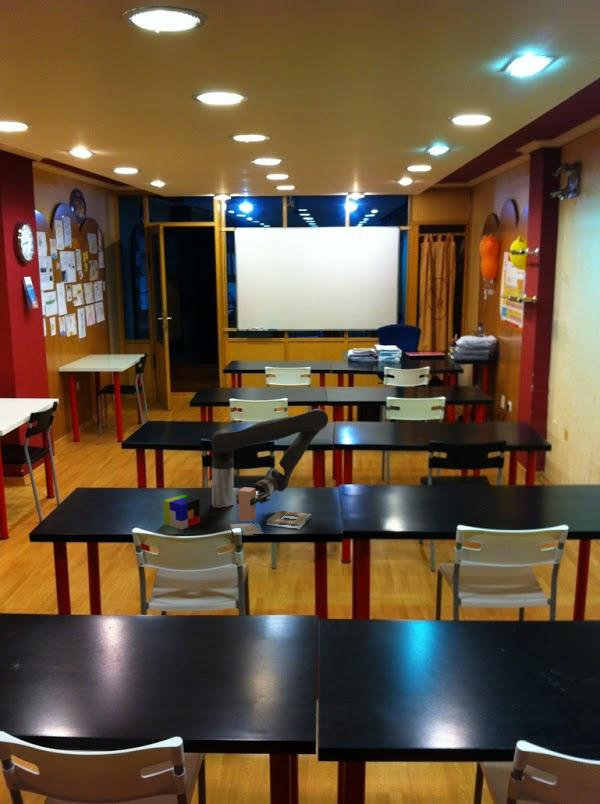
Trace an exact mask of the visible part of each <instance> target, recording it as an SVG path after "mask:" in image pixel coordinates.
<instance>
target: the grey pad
mask: <svg viewBox="0 0 600 804" xmlns="http://www.w3.org/2000/svg"><path fill="white" fill-rule="evenodd" d="M254 523H255V524H256V523H257V522H254ZM251 524H252V523H250V524H249V523H234V524H233V523H231V524H229V525H230V526H229V527H230V529H233V528H238V527H240V528H241V529H242V531H243V537H244V535H245V536H254V535H253V534H260V533H264V531H263V532H260V531H258V529H259V528H257V526H258V525H255V524H252V525H251ZM254 525H255V526H254Z"/></svg>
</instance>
